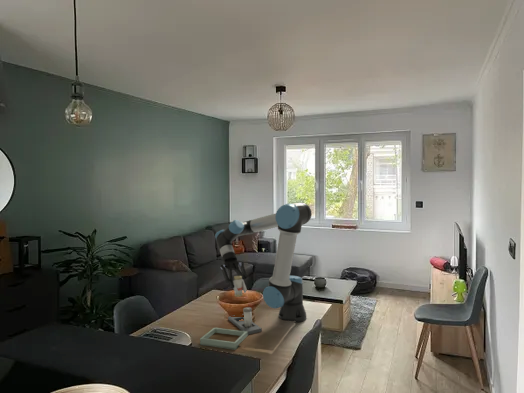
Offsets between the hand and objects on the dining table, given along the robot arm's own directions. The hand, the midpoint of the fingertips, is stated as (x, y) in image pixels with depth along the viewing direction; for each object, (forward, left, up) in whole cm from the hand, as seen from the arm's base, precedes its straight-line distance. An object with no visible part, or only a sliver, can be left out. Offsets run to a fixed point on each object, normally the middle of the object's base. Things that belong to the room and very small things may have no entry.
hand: (241, 292), depth 201 cm
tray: (+1, +19, -18) cm, 26 cm away
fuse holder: (-1, 0, -18) cm, 18 cm away
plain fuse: (-5, +4, -17) cm, 18 cm away
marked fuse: (+3, -3, -3) cm, 5 cm away
